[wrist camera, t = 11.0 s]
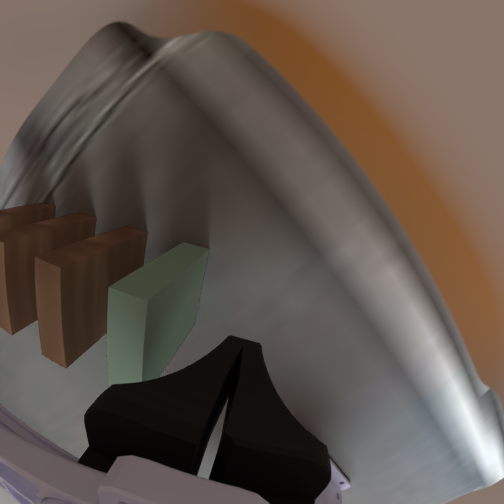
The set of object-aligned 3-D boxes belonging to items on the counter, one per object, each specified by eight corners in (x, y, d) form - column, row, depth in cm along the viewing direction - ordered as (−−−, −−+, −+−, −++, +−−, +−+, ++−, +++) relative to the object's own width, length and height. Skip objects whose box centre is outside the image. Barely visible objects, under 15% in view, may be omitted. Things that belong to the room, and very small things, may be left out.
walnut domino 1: (55, 206, 18) (-32, 224, 10) (52, 271, 19) (-25, 307, 12) (42, 202, 18) (-43, 219, 11) (39, 265, 20) (-36, 298, 12)
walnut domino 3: (147, 232, 18) (60, 268, 10) (138, 305, 19) (66, 368, 11) (125, 226, 18) (34, 256, 10) (118, 298, 19) (42, 354, 11)
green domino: (209, 249, 17) (147, 301, 10) (194, 324, 19) (141, 404, 11) (183, 241, 18) (108, 287, 10) (171, 316, 19) (108, 390, 11)
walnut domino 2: (96, 218, 18) (3, 242, 10) (91, 287, 19) (12, 335, 11) (78, 212, 18) (-13, 234, 10) (74, 280, 19) (-5, 323, 12)
